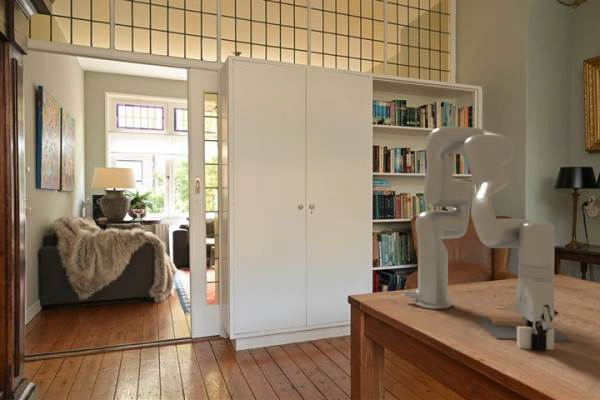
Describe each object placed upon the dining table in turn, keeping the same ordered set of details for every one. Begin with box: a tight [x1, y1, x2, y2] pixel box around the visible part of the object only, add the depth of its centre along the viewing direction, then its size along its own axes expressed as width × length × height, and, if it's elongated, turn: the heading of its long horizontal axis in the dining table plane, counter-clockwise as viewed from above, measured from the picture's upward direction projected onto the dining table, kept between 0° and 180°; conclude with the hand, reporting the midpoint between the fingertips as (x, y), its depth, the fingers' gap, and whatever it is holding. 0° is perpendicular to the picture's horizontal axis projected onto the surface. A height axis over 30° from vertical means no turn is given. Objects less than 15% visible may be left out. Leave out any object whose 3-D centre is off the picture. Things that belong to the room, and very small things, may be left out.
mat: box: [475, 318, 572, 343], centre depth 112 cm, size 18×16×2 cm
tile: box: [515, 326, 555, 350], centre depth 99 cm, size 8×2×5 cm, turn 85°
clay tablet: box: [504, 300, 559, 314], centre depth 131 cm, size 14×10×3 cm
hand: (534, 346), depth 99 cm, fingers open, 3 cm apart
